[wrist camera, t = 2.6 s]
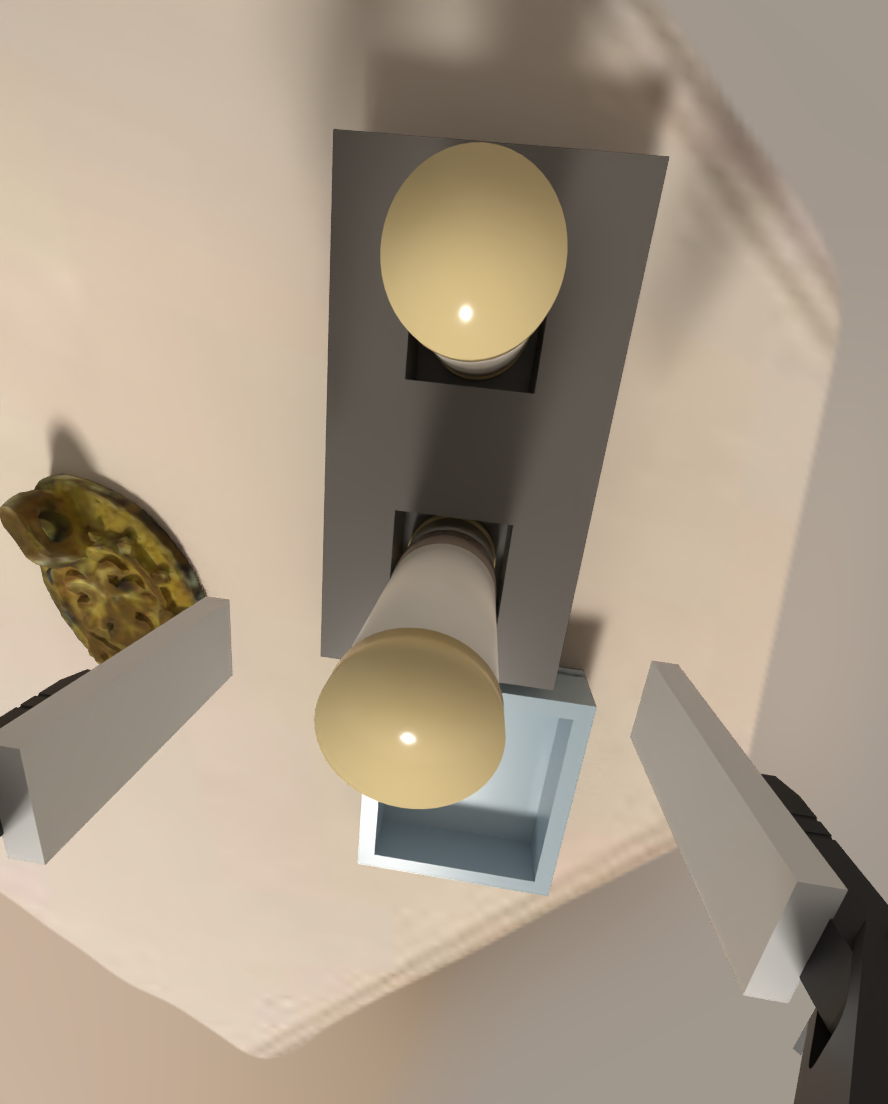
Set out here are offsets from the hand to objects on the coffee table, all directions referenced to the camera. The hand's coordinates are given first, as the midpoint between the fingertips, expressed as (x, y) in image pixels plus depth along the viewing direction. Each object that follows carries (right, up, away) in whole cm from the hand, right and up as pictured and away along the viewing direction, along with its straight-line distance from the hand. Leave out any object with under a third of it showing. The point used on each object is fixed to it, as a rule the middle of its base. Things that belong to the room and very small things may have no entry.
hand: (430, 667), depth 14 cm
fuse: (+2, +14, +7) cm, 16 cm away
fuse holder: (+2, +9, +9) cm, 13 cm away
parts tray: (+2, -9, +15) cm, 18 cm away
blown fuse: (+1, +4, +10) cm, 11 cm away
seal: (-19, +1, +14) cm, 24 cm away
